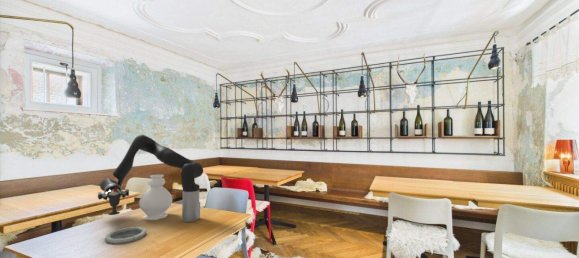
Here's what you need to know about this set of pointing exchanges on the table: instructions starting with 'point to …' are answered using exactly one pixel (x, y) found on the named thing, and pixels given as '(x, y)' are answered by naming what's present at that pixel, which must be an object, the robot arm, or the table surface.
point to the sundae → (114, 200)
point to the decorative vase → (155, 199)
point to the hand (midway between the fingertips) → (115, 197)
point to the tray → (125, 235)
